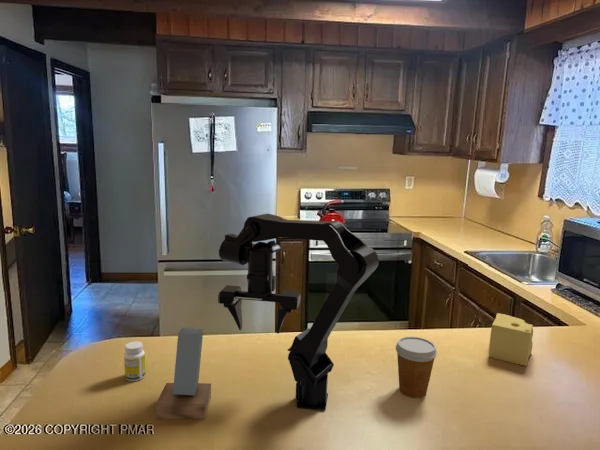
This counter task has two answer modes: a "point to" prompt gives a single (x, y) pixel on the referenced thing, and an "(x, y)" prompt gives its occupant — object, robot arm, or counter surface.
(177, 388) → the slate block
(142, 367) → the supplement bottle
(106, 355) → the counter surface
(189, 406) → the walnut block
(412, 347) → the disposable coffee cup
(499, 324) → the cheese
